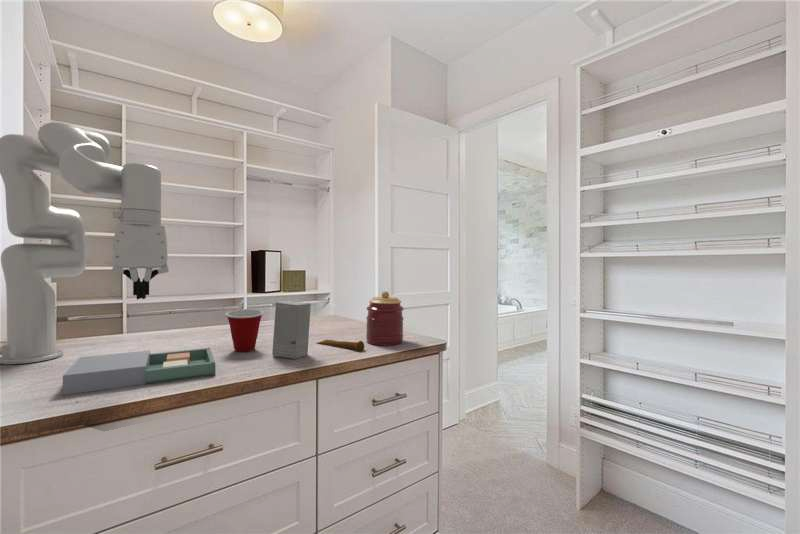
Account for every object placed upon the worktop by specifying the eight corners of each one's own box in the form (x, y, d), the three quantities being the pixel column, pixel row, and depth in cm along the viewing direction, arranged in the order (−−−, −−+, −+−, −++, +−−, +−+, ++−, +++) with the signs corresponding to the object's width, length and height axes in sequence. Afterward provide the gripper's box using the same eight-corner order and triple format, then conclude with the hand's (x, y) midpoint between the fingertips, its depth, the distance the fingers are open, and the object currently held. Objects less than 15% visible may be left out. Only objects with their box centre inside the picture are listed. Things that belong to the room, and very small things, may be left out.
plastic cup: (223, 355, 107) (223, 314, 107) (227, 347, 117) (227, 309, 117) (262, 353, 111) (263, 313, 110) (263, 345, 121) (264, 308, 121)
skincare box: (271, 356, 107) (272, 302, 107) (288, 351, 114) (288, 299, 113) (295, 360, 104) (296, 304, 103) (310, 354, 110) (311, 301, 110)
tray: (145, 384, 82) (145, 371, 82) (150, 365, 97) (150, 353, 97) (215, 374, 90) (215, 362, 90) (209, 358, 104) (209, 347, 104)
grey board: (62, 394, 76) (62, 375, 75) (80, 373, 89) (80, 357, 89) (145, 383, 83) (145, 366, 83) (149, 365, 96) (149, 350, 96)
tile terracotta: (189, 356, 95) (189, 366, 95) (189, 352, 99) (189, 361, 99) (166, 359, 92) (166, 369, 92) (167, 354, 97) (167, 363, 97)
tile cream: (187, 364, 88) (187, 374, 88) (187, 359, 92) (187, 369, 92) (162, 367, 85) (162, 378, 85) (163, 362, 90) (163, 372, 90)
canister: (410, 341, 129) (411, 291, 129) (385, 348, 119) (386, 293, 119) (384, 336, 138) (384, 289, 137) (358, 341, 128) (358, 291, 128)
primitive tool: (315, 344, 125) (315, 334, 125) (327, 341, 129) (327, 331, 129) (357, 354, 113) (358, 342, 113) (369, 350, 118) (369, 339, 118)
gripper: (97, 215, 78) (97, 301, 78) (179, 220, 86) (179, 298, 86) (103, 218, 84) (102, 298, 85) (179, 222, 92) (178, 295, 93)
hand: (141, 298), depth 85 cm, fingers closed
